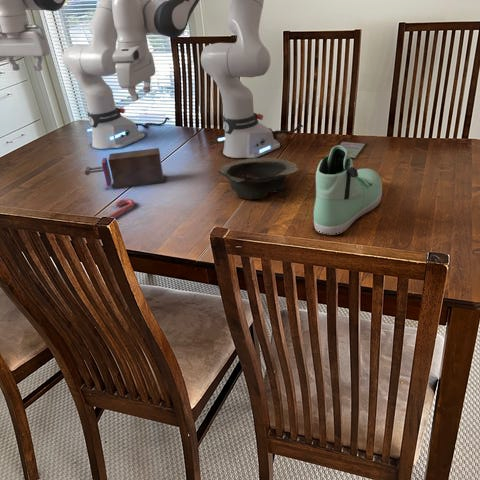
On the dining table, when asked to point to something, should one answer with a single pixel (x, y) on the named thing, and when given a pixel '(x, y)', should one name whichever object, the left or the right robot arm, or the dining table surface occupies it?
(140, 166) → the cabinet
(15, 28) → the left robot arm
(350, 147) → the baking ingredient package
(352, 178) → the sneaker
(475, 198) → the dining table surface
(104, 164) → the drawer
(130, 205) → the candy cane
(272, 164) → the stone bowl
